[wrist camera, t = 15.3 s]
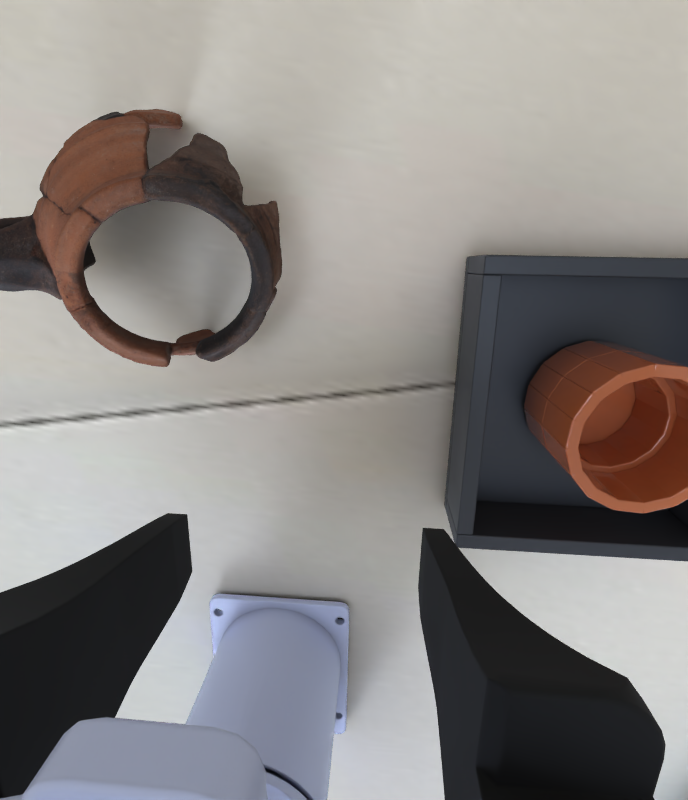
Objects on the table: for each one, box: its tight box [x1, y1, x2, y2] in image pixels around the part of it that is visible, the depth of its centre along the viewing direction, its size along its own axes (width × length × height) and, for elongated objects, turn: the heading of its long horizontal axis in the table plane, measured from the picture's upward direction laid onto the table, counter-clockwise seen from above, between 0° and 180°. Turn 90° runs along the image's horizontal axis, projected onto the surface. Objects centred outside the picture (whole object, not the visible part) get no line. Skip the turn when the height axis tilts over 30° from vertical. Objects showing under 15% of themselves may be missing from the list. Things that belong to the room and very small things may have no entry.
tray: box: [444, 255, 688, 561], centre depth 20 cm, size 12×11×4 cm
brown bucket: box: [524, 341, 688, 513], centre depth 19 cm, size 6×6×6 cm
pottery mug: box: [0, 109, 282, 367], centre depth 19 cm, size 12×10×8 cm
